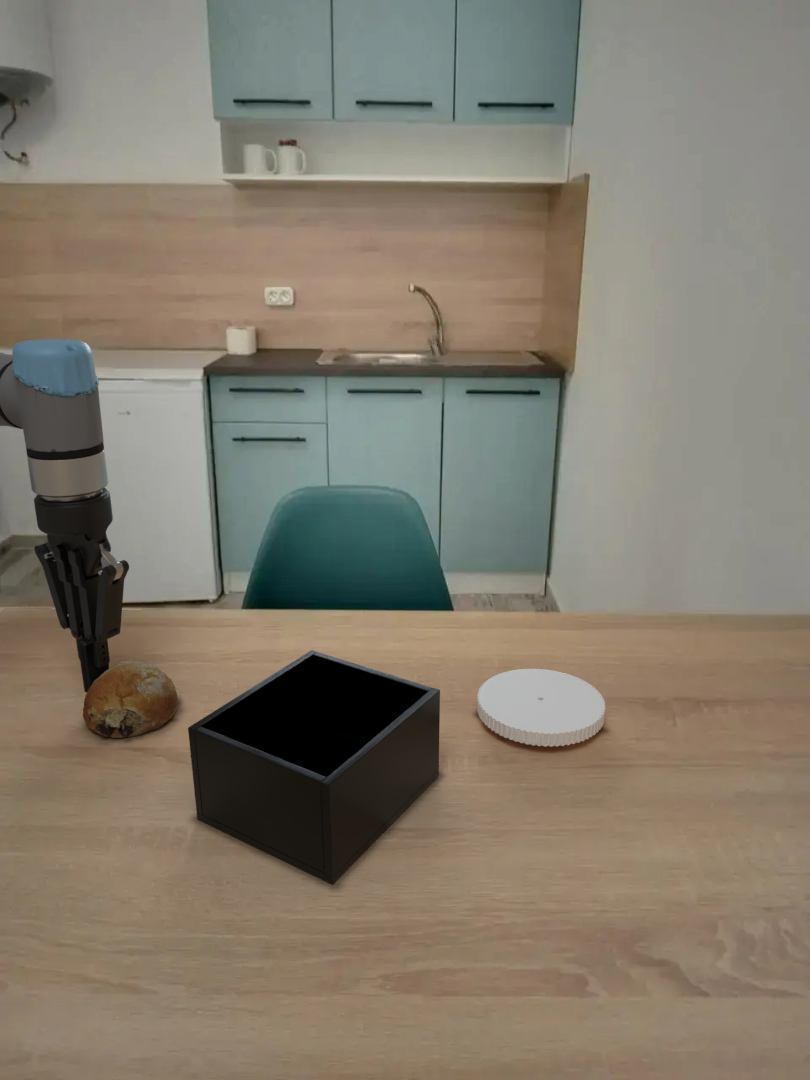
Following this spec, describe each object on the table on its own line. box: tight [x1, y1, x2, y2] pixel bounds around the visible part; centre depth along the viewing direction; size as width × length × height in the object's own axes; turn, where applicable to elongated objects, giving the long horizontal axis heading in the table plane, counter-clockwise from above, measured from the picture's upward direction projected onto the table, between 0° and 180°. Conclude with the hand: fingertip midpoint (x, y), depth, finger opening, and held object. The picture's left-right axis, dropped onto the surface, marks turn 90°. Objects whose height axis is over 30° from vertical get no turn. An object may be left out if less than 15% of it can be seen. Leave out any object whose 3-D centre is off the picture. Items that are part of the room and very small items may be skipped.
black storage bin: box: [187, 649, 441, 885], centre depth 78 cm, size 16×18×10 cm
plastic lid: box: [476, 667, 606, 748], centre depth 92 cm, size 14×14×2 cm
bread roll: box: [82, 660, 178, 739], centre depth 93 cm, size 10×10×8 cm
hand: (98, 687), depth 95 cm, fingers closed
